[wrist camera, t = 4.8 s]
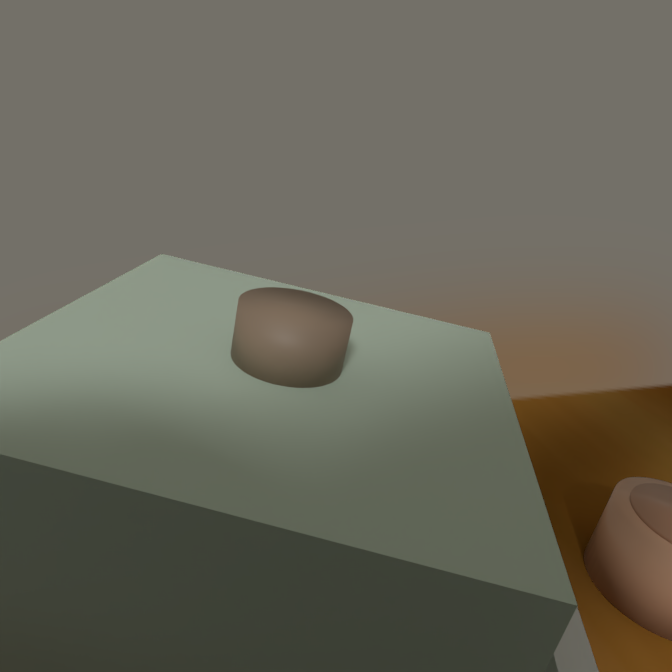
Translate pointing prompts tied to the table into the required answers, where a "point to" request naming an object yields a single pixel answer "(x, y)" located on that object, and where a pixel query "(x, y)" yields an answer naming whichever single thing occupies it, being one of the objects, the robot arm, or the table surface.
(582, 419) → the table surface
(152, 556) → the sage green cube
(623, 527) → the bowl
